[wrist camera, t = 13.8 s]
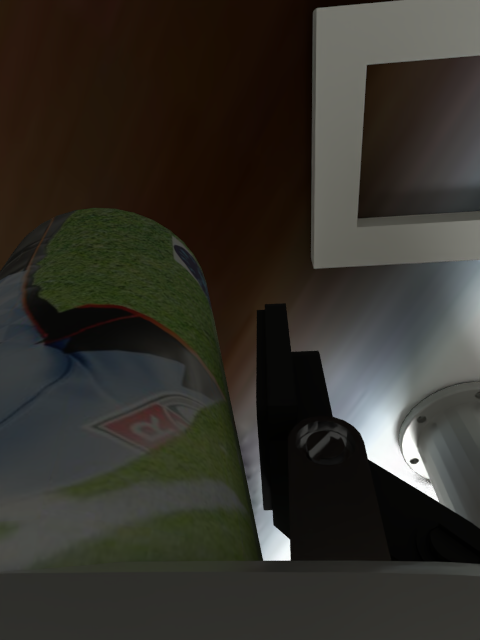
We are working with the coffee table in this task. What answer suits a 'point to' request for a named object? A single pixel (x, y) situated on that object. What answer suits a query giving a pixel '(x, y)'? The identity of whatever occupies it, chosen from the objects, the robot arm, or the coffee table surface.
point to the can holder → (347, 129)
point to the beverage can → (114, 402)
